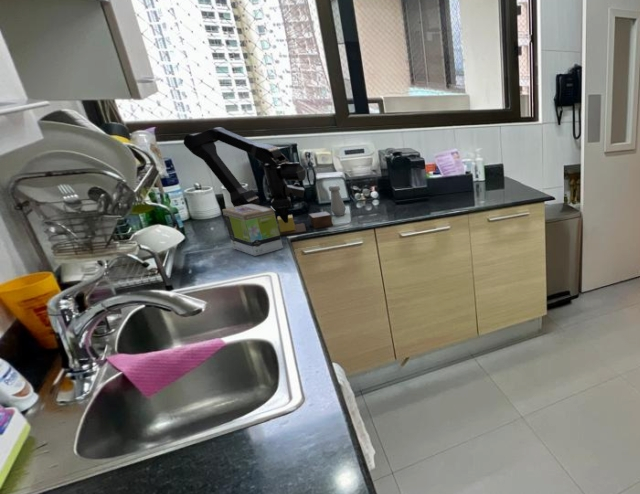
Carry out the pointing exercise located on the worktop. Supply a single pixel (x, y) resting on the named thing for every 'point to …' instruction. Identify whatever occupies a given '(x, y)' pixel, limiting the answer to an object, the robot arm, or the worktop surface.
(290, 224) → the yellow block
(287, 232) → the coaster
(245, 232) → the tea box
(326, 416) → the worktop surface
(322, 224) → the walnut block
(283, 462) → the worktop surface
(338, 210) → the salt shaker
